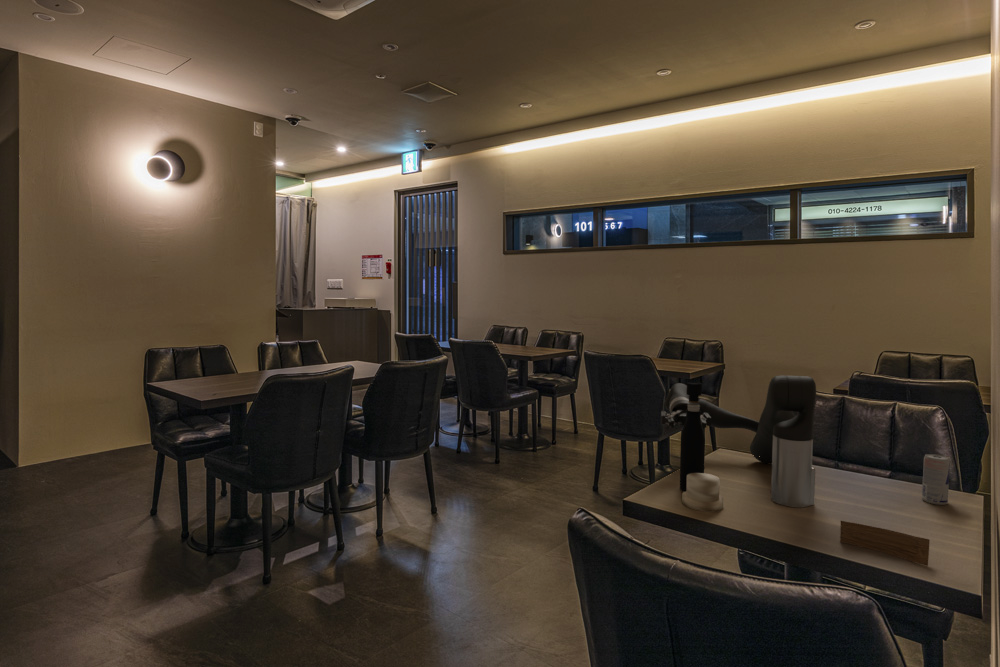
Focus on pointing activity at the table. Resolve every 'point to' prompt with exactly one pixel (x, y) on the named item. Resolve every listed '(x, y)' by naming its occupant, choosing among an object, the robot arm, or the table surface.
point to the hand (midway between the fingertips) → (687, 425)
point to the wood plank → (886, 541)
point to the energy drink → (935, 479)
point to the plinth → (702, 504)
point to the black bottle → (692, 437)
